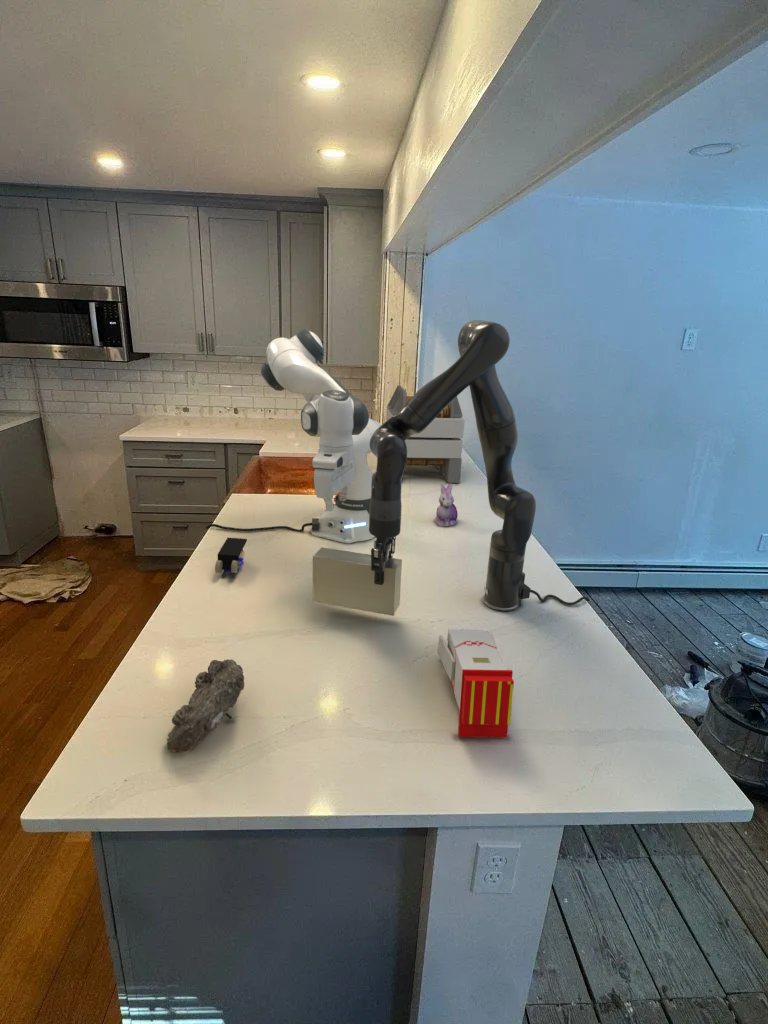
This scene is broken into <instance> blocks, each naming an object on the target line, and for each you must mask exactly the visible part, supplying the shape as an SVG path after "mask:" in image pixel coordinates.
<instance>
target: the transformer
mask: <svg viewBox="0 0 768 1024" xmlns="http://www.w3.org/2000/svg"><path fill="white" fill-rule="evenodd" d="M407 394H408V393H407V390H406V389H404V388H403V387H402V385H399V384H398V385H397V386H396V388H395V390H394V392H393V394H392V395H391V398H390V400H389V402H388V404H387V405H386V413H385V414H386V415H385V422H386V421H387V420H388V419H390V418H391V417H392V416H394V415H395V414H397V413H398V412H399V411H400V410H401V409H402V408H403V407H404V405H405V404H406V403H407V402H408V401H409V400H410V399H411V398H412V397H413V396H414V395H412V396H411V395H407ZM464 429H465V419H464V418H463V411H462V408H461V405H460V402H459V398H458V396H456V397H455V398H454V399H453V400H452V401H451V402H450V403H449V404H448V405H447V406H446V407H445V408H444V409H443V410H442V411H441V412H440V413H439V415H438V416H437V417H436V418H435V419H434V420H433V421H432V422H431V423H430V424H429V425H428V426H427V427H426V428H425V429H424V430H423V431H422V432H421V433H419V434H413V435H411V436H410V437H409V438H408V439H406V440H405V442H406V445H407V460H406V465H405V466H406V467H407V466H411V467H412V466H413V467H415V466H416V467H417V466H418V467H436V468H437V470H438V469H439V473H440V474H441V475H443V478H444V479H445V481H446V482H447V483H449V484H450V483H452V484H455V483H456V484H459V483H461V472H462V461H463V460H462V453H463V442H464V441H463V440H462V439H463V438H464V431H465V430H464ZM401 481H402V482H403V479H402V480H401Z"/></svg>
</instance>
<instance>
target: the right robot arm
mask: <svg viewBox="0 0 768 1024" xmlns="http://www.w3.org/2000/svg"><path fill="white" fill-rule="evenodd" d="M510 344H511V343H510V334H509V332H508V330H507V328H506V327H505V326H504V325H502V324H501V323H497V322H495V321H488V320H480V319H473V320H470V321H469V320H468V321H467V322H466V323H465V324H464V325H463V326H462V327H461V328H460V331H459V332H458V337H457V348H458V354H459V358H458V359H457V360H456V361H455V362H454V363H453V364H451V366H449V367H448V368H446V369H445V371H443V372H441V373H440V374H438V375H437V376H436V377H434V378H433V379H431V380H429V382H427V383H425V384H424V385H423V386H422V387H420V389H418V390H417V391H416V392H415V393H414V394H413V395H412V396H413V397H412V398H411V399H410V400H409V401H408V402H407V403H406V404H405V405H404V407H403V408H402V409H401V410H400V411H399V412H398V413H397V414H395V415H394V416H392V417H391V418H390V419H388V420H387V421H386V420H385V421H384V422H383V423H382V424H381V426H380V427H379V428H378V429H377V430H376V431H375V432H374V433H373V435H372V437H371V439H370V449H371V451H372V452H371V453H372V454H373V455H374V456H375V457H376V459H377V460H376V469H375V470H376V471H374V472H373V476H372V483H371V500H370V511H369V532H370V534H372V535H374V536H375V537H374V538H376V539H375V540H374V542H373V547H372V548H371V549H370V555H371V570H372V571H375V572H374V583H375V584H378V585H383V583H384V570H385V562H387V561H388V557H389V558H394V555H395V553H396V540H397V537H398V536H399V535H400V533H401V527H402V526H401V525H402V505H403V504H402V484H403V483H402V482H403V476H404V473H405V468H406V466H407V465H406V460H407V445H406V442H405V440H406V439H408V438H409V437H410V436H411V435H413V434H419V433H421V432H422V431H423V430H424V429H425V428H426V427H427V426H428V425H429V424H430V423H431V422H432V421H433V420H434V419H435V418H436V417H437V416H438V415H439V413H440V412H441V411H442V410H443V409H444V408H445V407H446V406H447V405H448V404H449V403H450V402H451V401H452V400H453V399H454V398H455V397H456V396H457V397H458V396H459V395H460V394H461V393H462V392H464V390H465V389H466V388H468V387H469V390H470V391H469V392H470V397H471V402H472V407H473V413H474V417H475V424H476V431H477V434H478V439H479V443H480V448H481V452H482V458H483V463H484V468H485V475H486V484H487V496H488V504H489V508H490V510H491V511H492V513H493V514H494V515H495V516H497V517H498V518H500V519H502V520H503V522H502V528H501V529H498V530H495V531H493V532H492V533H491V536H490V543H489V553H488V562H487V571H486V579H485V586H484V589H483V591H484V595H483V603H484V605H486V606H487V607H489V609H492V610H496V611H501V612H510V611H514V610H516V609H518V607H521V606H522V601H523V600H526V599H530V596H531V594H534V595H535V596H536V598H538V600H539V601H540V602H542V603H544V602H546V601H547V600H548V598H552V599H555V600H556V601H558V602H560V603H561V604H563V605H566V606H574V605H577V604H579V603H581V602H582V601H587V602H590V601H591V600H590V599H589V597H587V596H582V597H581V596H580V597H579V598H578V599H576V600H575V601H572V602H571V601H570V602H569V601H565V600H563V599H561V598H560V597H558V596H557V595H554V594H546V595H545V596H544V597H543V598H542V597H541V594H540V593H539V592H537V591H536V590H534V589H532V588H531V587H529V586H528V585H527V584H526V583H525V580H526V573H524V564H525V557H526V549H527V544H528V542H529V540H530V538H531V535H532V531H533V527H534V526H533V525H534V521H535V516H536V511H537V503H536V499H535V496H534V494H532V493H531V492H530V491H528V490H526V489H523V488H522V487H520V486H517V484H516V482H515V478H514V473H513V468H512V461H513V457H514V454H515V452H516V449H517V446H518V441H519V433H518V428H517V422H516V415H515V412H514V411H515V410H514V409H513V407H512V404H511V402H510V399H509V398H508V396H507V394H506V392H505V389H504V388H503V386H502V384H501V382H500V380H499V377H498V374H497V368H496V364H498V363H499V362H500V361H501V360H503V358H504V357H505V356H506V354H507V352H508V350H509V347H510ZM401 480H402V481H401ZM383 557H385V558H383ZM377 564H379V566H378V565H377ZM583 599H584V600H583Z"/></svg>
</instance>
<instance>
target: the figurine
mask: <svg viewBox="0 0 768 1024" xmlns="http://www.w3.org/2000/svg"><path fill="white" fill-rule="evenodd" d="M452 489H453V483H449V484H448V485H447V487H445V485H444V484H443V483H441V484H440V494H439V497H438V503H439V506H438V507H437V508H436V513H435V515H436V517H435V521H434V522H435V523H436V524H437V526H440V527H450V526H454V525H455V524H457V520H458V517H459V516H458V514H459V513H458V510H457V507H456V505H455V504H454V502H455V498H454V495H453V493H452Z"/></svg>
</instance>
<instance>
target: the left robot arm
mask: <svg viewBox="0 0 768 1024" xmlns="http://www.w3.org/2000/svg"><path fill="white" fill-rule="evenodd" d="M324 355H325V348H324V346H323V343H322V340H321V338H320V337H319V336H318V335H317V334H316V333H315V332H313V331H311V330H309V329H308V328H307V329H306V328H304V329H301V330H299V331H297V332H296V333H295V335H293V336H292V337H290V338H288V337H277V338H275V339H272V340H271V341H270V342H269V343H268V345H267V347H266V351H265V357H266V360H265V361H264V362H263V364H262V366H261V367H260V374H261V376H262V379H263V381H264V383H266V385H267V386H268V387H270V388H272V389H273V390H275V391H278V392H282V391H284V390H286V391H287V392H290V393H294V394H302V396H303V398H304V400H306V404H305V405H304V406H303V407H302V409H301V411H300V423H301V428H302V430H303V431H304V432H305V433H306V434H307V435H309V436H310V437H315V438H319V443H318V444H319V447H318V450H317V453H316V454H315V456H314V457H313V459H312V461H311V463H312V468H315V469H314V471H313V484H314V494H315V496H316V497H317V498H318V499H323V501H324V504H325V510H323V512H321V514H320V515H319V517H315V518H314V517H313V518H311V522H307V523H303V524H302V525H301V528H299V529H297V528H294V527H290V526H287V525H275V526H266V527H265V526H263V527H251V528H241V527H231V526H223V525H220V524H217V523H210V524H208V525H206V526H205V528H204V529H206V530H208V529H210V528H213V527H214V528H217V529H221V530H226V531H233V532H259V531H260V532H261V531H269V530H288V531H291V532H296V533H302V532H304V530H305V527H310V526H311V530H310V533H311V536H315V537H319V538H323V539H326V540H330V541H336V542H339V543H343V544H352V543H357V542H365V541H368V540H372V539H373V538H376V537H375V536H374V535H372V534H370V532H369V511H370V500H371V483H372V476H373V474H374V472H373V471H372V470H371V469H370V468H369V467H370V466H369V464H368V459H367V458H368V454H371V453H372V451H371V449H370V439H371V437H372V435H373V433H374V432H375V431H376V430H377V429H378V428H379V427H380V426H381V425H382V424H381V423H380V422H378V421H376V420H374V419H372V418H371V417H370V414H369V410H368V409H369V408H367V406H366V404H365V403H364V402H363V401H362V400H361V399H360V398H359V397H356V396H354V395H353V394H352V393H351V392H350V391H349V390H347V389H346V388H345V386H344V385H343V384H342V383H341V382H340V381H339V380H338V379H337V378H336V377H334V376H333V375H332V374H331V373H330V372H329V371H327V370H325V369H323V368H321V367H320V366H319V365H318V362H319V363H320V364H321V365H323V364H324V361H323V359H324Z"/></svg>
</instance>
